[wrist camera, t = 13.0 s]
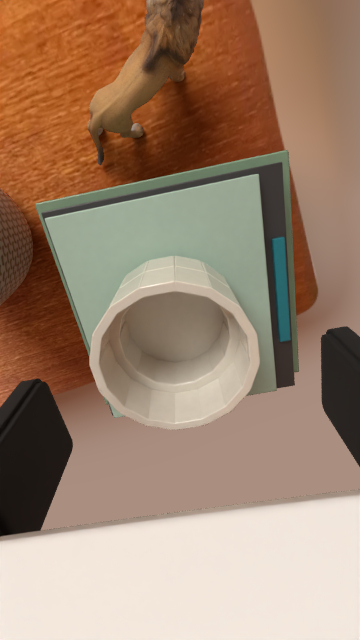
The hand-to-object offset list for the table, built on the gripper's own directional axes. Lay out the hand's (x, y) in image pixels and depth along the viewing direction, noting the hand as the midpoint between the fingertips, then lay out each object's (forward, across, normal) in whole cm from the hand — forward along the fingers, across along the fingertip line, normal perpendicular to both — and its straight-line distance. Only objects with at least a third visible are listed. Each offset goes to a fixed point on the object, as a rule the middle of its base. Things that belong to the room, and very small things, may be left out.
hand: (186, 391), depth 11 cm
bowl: (+7, 0, 0) cm, 7 cm away
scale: (+10, 0, 0) cm, 10 cm away
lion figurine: (+27, +1, -15) cm, 31 cm away
